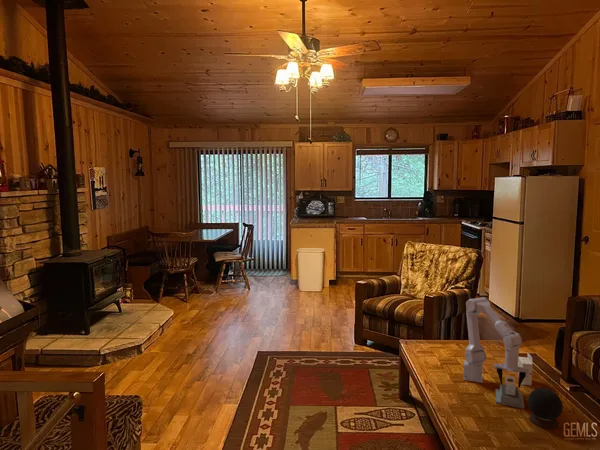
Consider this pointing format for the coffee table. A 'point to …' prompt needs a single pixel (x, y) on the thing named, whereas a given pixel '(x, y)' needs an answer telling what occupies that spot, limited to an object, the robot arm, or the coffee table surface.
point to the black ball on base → (545, 408)
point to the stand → (509, 398)
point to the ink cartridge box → (527, 364)
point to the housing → (510, 385)
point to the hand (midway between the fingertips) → (510, 385)
